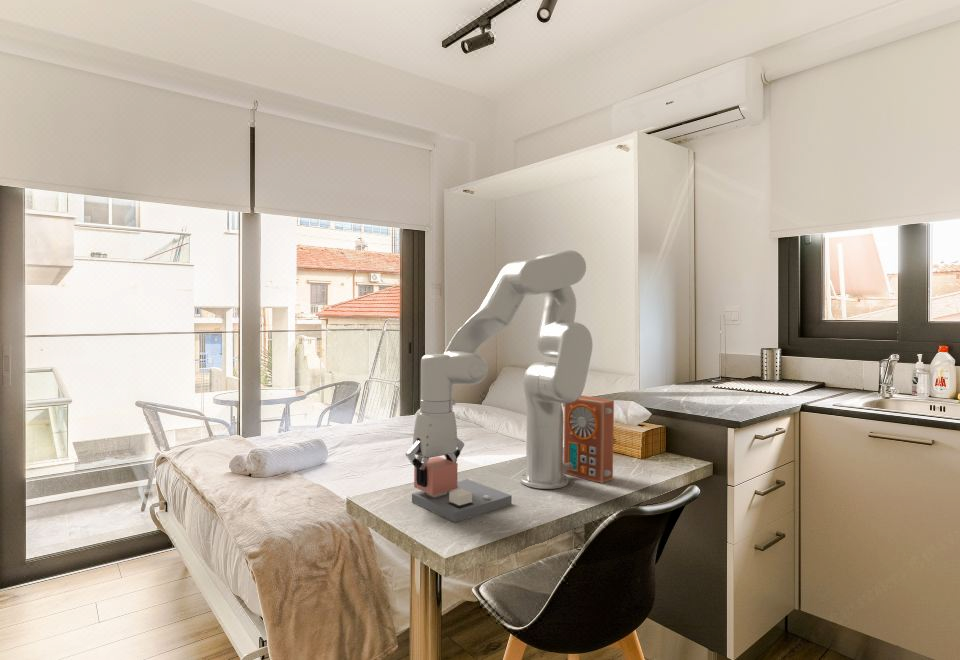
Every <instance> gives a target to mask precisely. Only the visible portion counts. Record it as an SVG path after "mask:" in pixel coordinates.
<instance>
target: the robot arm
mask: <svg viewBox="0 0 960 660" xmlns="http://www.w3.org/2000/svg"><path fill="white" fill-rule="evenodd" d="M586 263H587V262H586V260H585V258H584V257H583V255H582V254H581V253H579V252H577V251H576V250H571V249H570V250H568V249H567V250H562V251H561V250H560V251H554V252H553V251H552V252H548V253H543V254H541V255H538V256H536V257H535V258H532V259H523V260H517V261H512V262H508V263H506V264H505V265H504V266H503V267H502V268H501V270H500V271H499V273H498V274H497V276H496V278H495V280H494V282H493V284H492V286H491V287H490V289H489V291H488V293H487V295H485V296H486V297H485V298H484V299H483V301H482V303H481V304H480V306H479V308H478V309H477V311H476V312H475V313H474V314H472V315H471V317H469V319H467V321H466V322H465V323H464V324H463V325H462V326H460V328H459V329H457V331H456V332H455V334H454V335H453V337H452V338H451V340H450V341H449V343H448V345H447V347H446V348H445V350H444V352H443V353H426V354H425V355H423V356H422V357H421V358H420V398H419V399H420V400H419V401H420V404H419V405H420V407H419V409H420V411H419V412H418V413H417V414H416V416H415V422H414V428H413V436H412V438H413V439H412V446H411V447H410V448H409V449H408V450H407V451H406V453H405V456H406V458H407V459H408V460H409V462H410V463H411V464H412V465H413V466H414V467H415V468H417V471H416V480H417V484H418V485H420V486H422V487H426V486H427V470H426V469H425V467H426V465H427V462H428V460H429V459H431V458H436V457H441V456H444V459H447V460H450V461H453V462H455V463H457V462H458V458H459V456H460V455H461V452H462V450H463V448H464V447H465V442H463V441H462V440H461V439H459V438H458V431H457V430H458V429H457V428H458V427H457V421H456V415H455V412H454V411H453V406H455V405H456V400H455V399H453V397H454V394H453V393H454V390H453V389H454V385H465V386H474V385H478V384H480V383H481V382H483V381H484V380H485V379H486V378H487V376H488V373H489V365H488V363H487V360H485V358H483V357H482V356H481V355H479V354H476V352H477V350H478V349H479V348H480V347H481V346H482V345H483V344H484V343H485V342H487V340H490V338H491V337H494V336H496V335H497V334H500V333H502V332H503V331H505V330H506V329H508V328H509V326H511V323H512V322H513V320H514V318H515V316H516V314H517V312H518V310H519V308H520V306H521V305H522V303H523V302H524V299H525V298H526V296H532V295H541V294H542V296H543V308H542V309H543V310H542V315H541V320H540V324H539V328H538V332H537V339H536V347H537V349H538V351H539V353H540V354H541V355H543V356H545V357H549V358H554V359H557V360H556V362H553V361H552V362H551V361H537V362H534V363H532V364H530V365H529V367H527V369H526V370H525V373H524V376H523V390H524V395H525V400H526V450H525V451H526V453H525V454H526V457H525V458H526V459H525V460H526V461H525V462H526V463H525V464H526V465H525V469H526V471H525V472H524V473H522V474H521V475H520V480H519V481H520V483H521V484H523V485H524V486H526V487H529V488H533V489H541V490H552V489H560V488H564V487H566V486H568V484H569V477H568V476H567V474H565V472H566V470H570V469H573V464H572V463H571V462H568V463H563V461H564V410H563V405H562V404H563V403H572V402H575V401H576V400H577V399H578V398H579V397H580V396H581V395H582V394H583V392H584V390H585V386H586V383H587V377H588V373H589V367H590V362H591V359H592V358H591V357H592V352H593V346H594V345H593V337H592V334H591V332H590V330H589V329H588V327H587V326H586V325H584V324H582V323H579V322H577V321H576V322H575V318H576V312H577V311H576V310H577V299H576V295H575V291H574V290H573V288H572V285H573V286H574V285H576V284H577V283H579V282H581V280H582V279H583V278H584V277H585V274H586V271H587V264H586ZM416 456H417V457H416ZM421 461H422V462H421Z"/></svg>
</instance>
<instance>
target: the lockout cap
mask: <svg viewBox="0 0 960 660" xmlns="http://www.w3.org/2000/svg"><path fill="white" fill-rule="evenodd" d="M421 462H422V461H421ZM458 466H459V465H458V463H457V462H456V463H455V462H453V461H450V460H447V459H446V458H445V457H441V456H437V457H432V458H429V460H428V462H427V465H426V467H425V469H426V470H427V486H426V487H422V486H420V485H418V484H417V480H416V471H417V468H415V467H414V468H413V473H414V474H413V477H414V478H413V480H414V481H413V488H415V489H417V490H420V491H424V492H426V493H429V494H431V495H435V494H439V493H443V492H446V491H450V490H454V489H457V482H458Z"/></svg>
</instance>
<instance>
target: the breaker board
mask: <svg viewBox="0 0 960 660" xmlns="http://www.w3.org/2000/svg"><path fill="white" fill-rule="evenodd" d="M460 489H463V490H466V491H468V492H471V493H472V502H470V503H467V504H463V505H460V506H459V505H457V504H455V503H452V502H450V501H449V492H452V491H456V490H460ZM512 497H513V496H512V494H509V493H506V492H503V491H500V490H498V489H496V488H493V487H490V486H487V485H485V484H482V483H479V482H476V481H473V480H472V479H468V478H466V479H462V480H458V481H457V489H454V490H450V491H447V495H443V496H439V497H436V498H433V497H431V496H429V495H427V494H426V492H424V491H422V490H420V491H417V492H413V493H411V503H413V504H415V505H417V506H419V507H422V508H423V509H425V510H428V511H430V512H433V513H434V514H435V515H438V516H440V517H442V518H445V519H447V520H449V521H451V522H453V523H457V522H461V521H463V520H467V519H469V518H473V517H475V516H479V515H482V514H485V513H488V512H491V511H495V510H497V509H500V508H503V507H504V508H505V507H507V506H510V505H512V501H513V500H512Z"/></svg>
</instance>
